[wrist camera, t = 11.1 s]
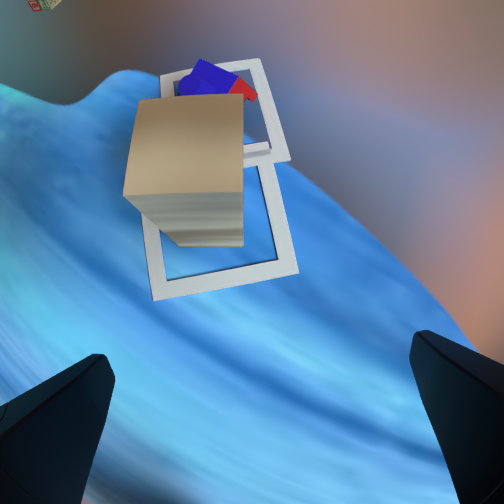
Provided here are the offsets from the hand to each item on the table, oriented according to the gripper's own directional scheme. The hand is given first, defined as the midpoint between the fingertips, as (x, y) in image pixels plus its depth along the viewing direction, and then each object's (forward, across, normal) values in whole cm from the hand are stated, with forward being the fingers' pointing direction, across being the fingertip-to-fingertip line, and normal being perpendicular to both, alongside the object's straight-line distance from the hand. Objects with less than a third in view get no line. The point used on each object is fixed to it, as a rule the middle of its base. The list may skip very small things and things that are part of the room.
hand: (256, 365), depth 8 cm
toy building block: (+20, +2, -9) cm, 22 cm away
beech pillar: (+15, +3, -1) cm, 15 cm away
